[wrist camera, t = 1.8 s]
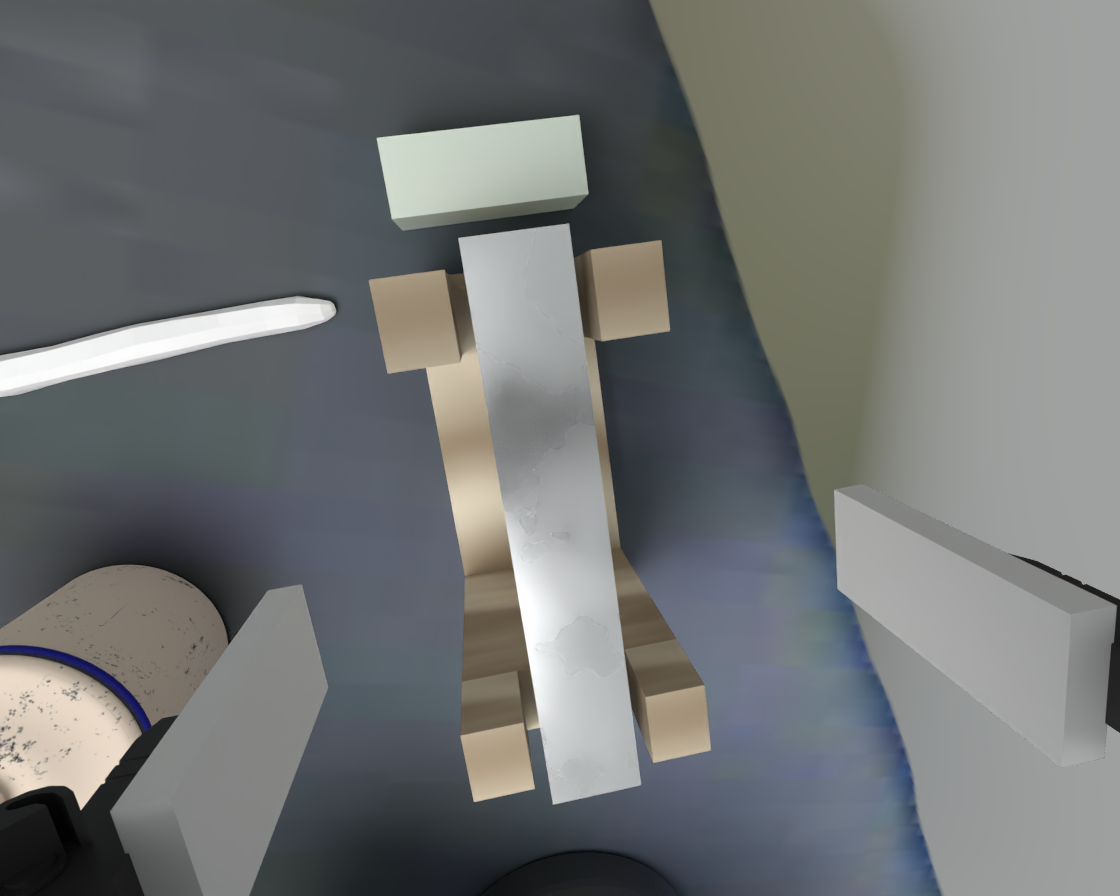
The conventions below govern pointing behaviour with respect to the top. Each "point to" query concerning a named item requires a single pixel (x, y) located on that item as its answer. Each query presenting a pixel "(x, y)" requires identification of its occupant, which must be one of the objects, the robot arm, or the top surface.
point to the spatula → (156, 341)
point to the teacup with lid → (99, 674)
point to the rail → (553, 502)
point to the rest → (484, 172)
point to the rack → (490, 587)
